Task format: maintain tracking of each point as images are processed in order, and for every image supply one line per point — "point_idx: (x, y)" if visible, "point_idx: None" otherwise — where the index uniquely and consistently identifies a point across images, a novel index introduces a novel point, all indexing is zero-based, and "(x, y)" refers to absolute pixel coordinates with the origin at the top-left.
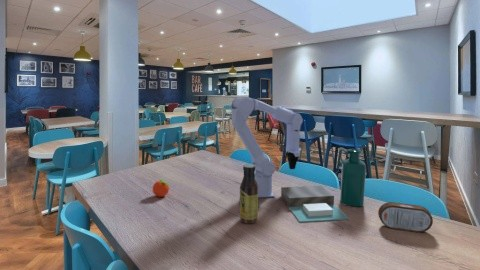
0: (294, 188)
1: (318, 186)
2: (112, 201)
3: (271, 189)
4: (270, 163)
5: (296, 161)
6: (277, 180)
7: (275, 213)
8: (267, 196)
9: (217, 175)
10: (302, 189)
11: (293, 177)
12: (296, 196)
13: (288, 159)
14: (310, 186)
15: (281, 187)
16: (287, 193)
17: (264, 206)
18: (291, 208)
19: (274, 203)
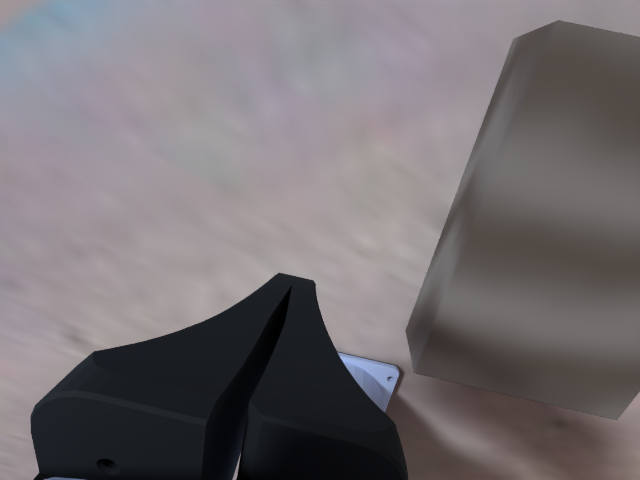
0: (481, 308)
1: (557, 74)
2: None
3: (367, 393)
4: None
5: (333, 351)
6: (108, 211)
7: (586, 444)
8: (388, 399)
9: (7, 458)
10: (535, 266)
11: (33, 36)
12: (626, 375)
13: (240, 450)
14: (511, 158)
15: (416, 372)
16: (539, 393)
17: (486, 447)
18: None
19: (479, 400)
